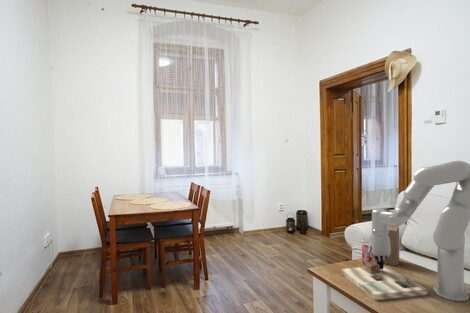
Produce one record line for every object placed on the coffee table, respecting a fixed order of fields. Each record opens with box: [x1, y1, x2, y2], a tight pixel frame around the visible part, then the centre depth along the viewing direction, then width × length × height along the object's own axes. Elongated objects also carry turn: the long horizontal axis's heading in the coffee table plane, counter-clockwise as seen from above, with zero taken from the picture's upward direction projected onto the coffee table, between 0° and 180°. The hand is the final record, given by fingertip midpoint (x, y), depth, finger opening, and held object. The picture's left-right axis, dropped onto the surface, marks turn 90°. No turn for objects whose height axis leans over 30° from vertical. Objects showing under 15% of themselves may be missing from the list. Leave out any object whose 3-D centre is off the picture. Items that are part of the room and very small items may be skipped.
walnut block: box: [364, 262, 380, 274], centre depth 149 cm, size 5×5×4 cm
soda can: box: [361, 241, 376, 266], centre depth 164 cm, size 7×7×12 cm
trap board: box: [340, 264, 428, 301], centre depth 141 cm, size 26×28×2 cm
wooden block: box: [384, 226, 400, 267], centre depth 168 cm, size 10×10×20 cm
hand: (379, 268), depth 150 cm, fingers closed
